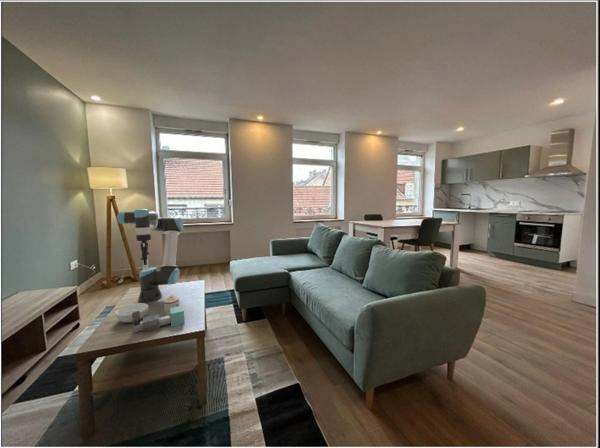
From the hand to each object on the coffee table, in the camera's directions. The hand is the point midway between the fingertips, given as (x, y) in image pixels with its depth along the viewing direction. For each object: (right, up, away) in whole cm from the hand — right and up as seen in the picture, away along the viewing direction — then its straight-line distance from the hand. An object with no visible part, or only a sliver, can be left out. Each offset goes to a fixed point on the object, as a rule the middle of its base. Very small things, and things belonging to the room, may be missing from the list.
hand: (146, 267), depth 151 cm
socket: (+22, -33, -4) cm, 40 cm away
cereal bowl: (-8, -33, 0) cm, 34 cm away
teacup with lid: (+11, -32, +10) cm, 35 cm away
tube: (+12, -33, -9) cm, 36 cm away
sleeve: (+10, -34, -11) cm, 37 cm away
